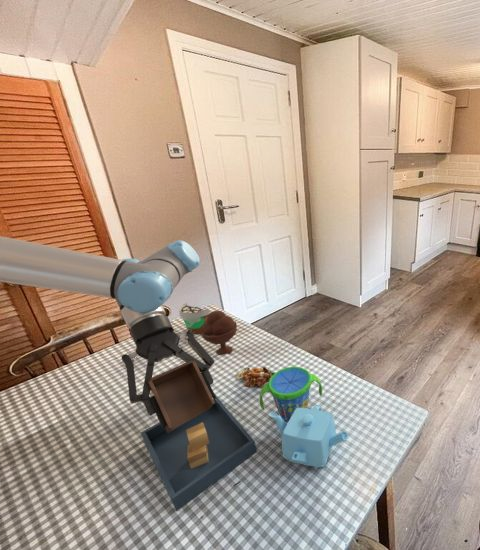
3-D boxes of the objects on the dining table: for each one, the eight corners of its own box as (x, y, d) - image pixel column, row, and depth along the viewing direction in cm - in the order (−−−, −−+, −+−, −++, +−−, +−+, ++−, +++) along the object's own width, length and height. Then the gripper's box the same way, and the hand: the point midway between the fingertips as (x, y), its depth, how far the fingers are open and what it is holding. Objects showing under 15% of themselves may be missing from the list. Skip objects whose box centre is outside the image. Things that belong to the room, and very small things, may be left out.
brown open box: (147, 388, 68) (147, 379, 62) (190, 368, 74) (193, 358, 68) (167, 433, 66) (169, 428, 60) (209, 409, 72) (215, 402, 66)
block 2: (187, 458, 63) (190, 469, 64) (205, 451, 65) (208, 462, 66) (187, 445, 66) (190, 456, 67) (204, 438, 67) (207, 449, 69)
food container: (176, 333, 114) (170, 310, 110) (191, 325, 119) (185, 302, 116) (200, 340, 110) (194, 316, 106) (214, 331, 115) (209, 308, 111)
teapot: (355, 434, 73) (354, 402, 69) (337, 494, 60) (335, 459, 56) (286, 421, 76) (282, 390, 73) (256, 475, 64) (249, 441, 60)
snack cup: (321, 391, 86) (319, 361, 82) (325, 420, 77) (323, 389, 73) (264, 400, 83) (259, 370, 79) (261, 432, 73) (255, 400, 70)
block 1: (192, 452, 64) (189, 441, 67) (209, 443, 66) (205, 433, 69) (188, 440, 63) (185, 430, 66) (206, 431, 65) (202, 421, 68)
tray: (144, 443, 71) (140, 432, 70) (216, 403, 82) (213, 392, 81) (176, 511, 57) (171, 499, 56) (256, 452, 69) (254, 440, 67)
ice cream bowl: (199, 360, 99) (189, 320, 94) (220, 341, 109) (212, 304, 104) (229, 363, 98) (220, 323, 92) (247, 343, 108) (240, 306, 102)
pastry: (242, 368, 95) (240, 359, 94) (277, 373, 93) (276, 364, 92) (228, 384, 89) (226, 374, 88) (266, 390, 87) (264, 380, 85)
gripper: (196, 311, 79) (235, 388, 75) (88, 348, 64) (129, 447, 60) (200, 299, 73) (242, 381, 69) (83, 336, 58) (128, 444, 55)
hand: (190, 412), depth 65 cm, fingers closed on brown open box, 9 cm apart
